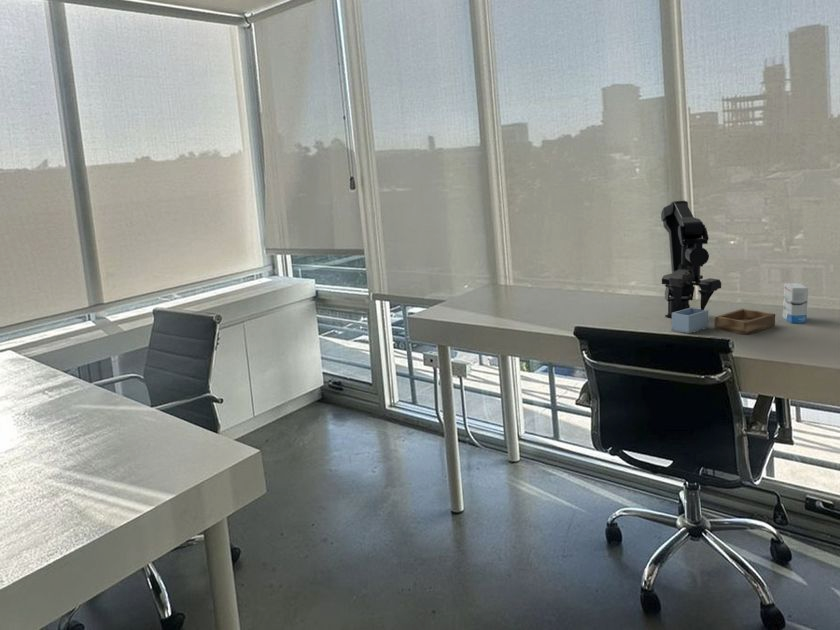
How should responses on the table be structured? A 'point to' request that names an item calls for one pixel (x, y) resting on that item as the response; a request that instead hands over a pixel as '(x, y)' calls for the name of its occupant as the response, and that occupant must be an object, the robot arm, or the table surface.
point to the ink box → (795, 302)
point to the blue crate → (689, 320)
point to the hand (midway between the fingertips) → (690, 307)
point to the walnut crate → (745, 321)
